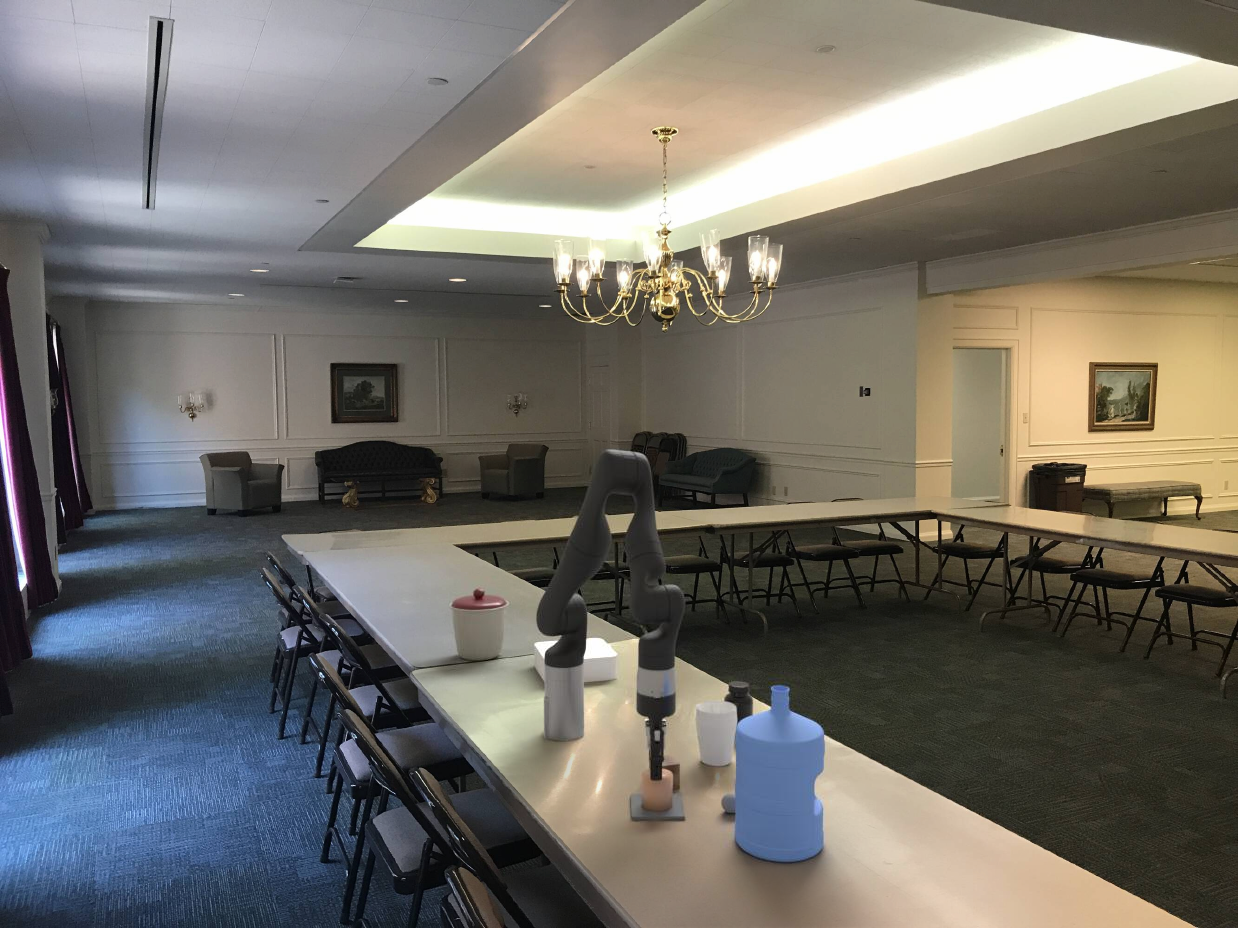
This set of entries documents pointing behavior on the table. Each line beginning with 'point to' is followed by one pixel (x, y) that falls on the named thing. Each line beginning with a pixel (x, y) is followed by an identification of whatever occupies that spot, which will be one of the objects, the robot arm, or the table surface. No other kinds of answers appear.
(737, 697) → the supplement bottle
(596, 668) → the projector
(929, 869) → the table surface
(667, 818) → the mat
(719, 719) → the cup
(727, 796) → the grey ball
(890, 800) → the table surface
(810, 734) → the water jug
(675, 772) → the walnut block
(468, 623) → the canister
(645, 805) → the peach rounded capsule
